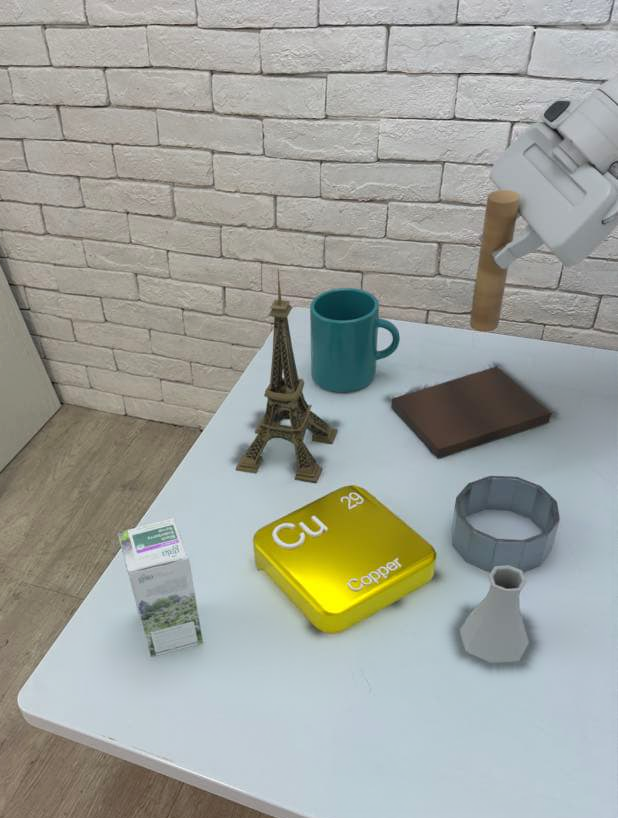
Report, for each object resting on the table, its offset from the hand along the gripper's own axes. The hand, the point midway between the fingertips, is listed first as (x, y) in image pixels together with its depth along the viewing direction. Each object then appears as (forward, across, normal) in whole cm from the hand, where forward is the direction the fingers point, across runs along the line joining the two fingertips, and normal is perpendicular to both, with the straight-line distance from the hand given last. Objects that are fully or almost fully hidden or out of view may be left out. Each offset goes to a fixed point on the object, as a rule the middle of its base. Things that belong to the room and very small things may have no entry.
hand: (489, 253), depth 87 cm
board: (+16, +2, -17) cm, 23 cm away
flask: (+22, -35, -11) cm, 43 cm away
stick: (+6, 0, -7) cm, 9 cm away
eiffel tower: (+33, -1, 0) cm, 33 cm away
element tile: (+31, -23, -2) cm, 39 cm away
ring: (+18, -22, -14) cm, 32 cm away
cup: (+25, +14, -8) cm, 29 cm away
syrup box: (+44, -29, +12) cm, 54 cm away
